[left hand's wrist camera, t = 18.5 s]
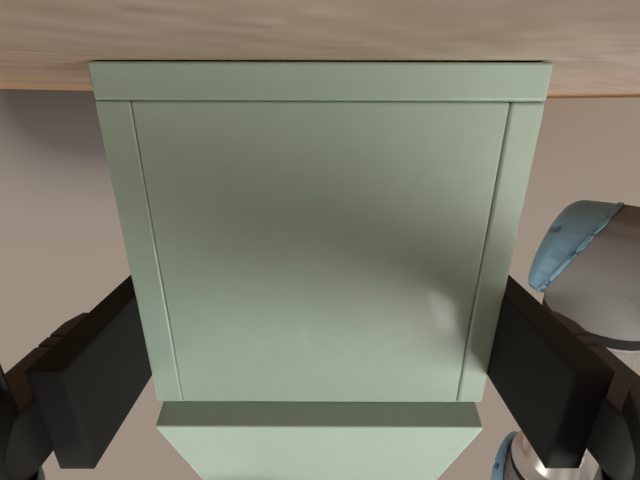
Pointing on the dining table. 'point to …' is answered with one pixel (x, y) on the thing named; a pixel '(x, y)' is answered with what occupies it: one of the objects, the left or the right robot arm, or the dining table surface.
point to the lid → (319, 438)
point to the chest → (319, 221)
